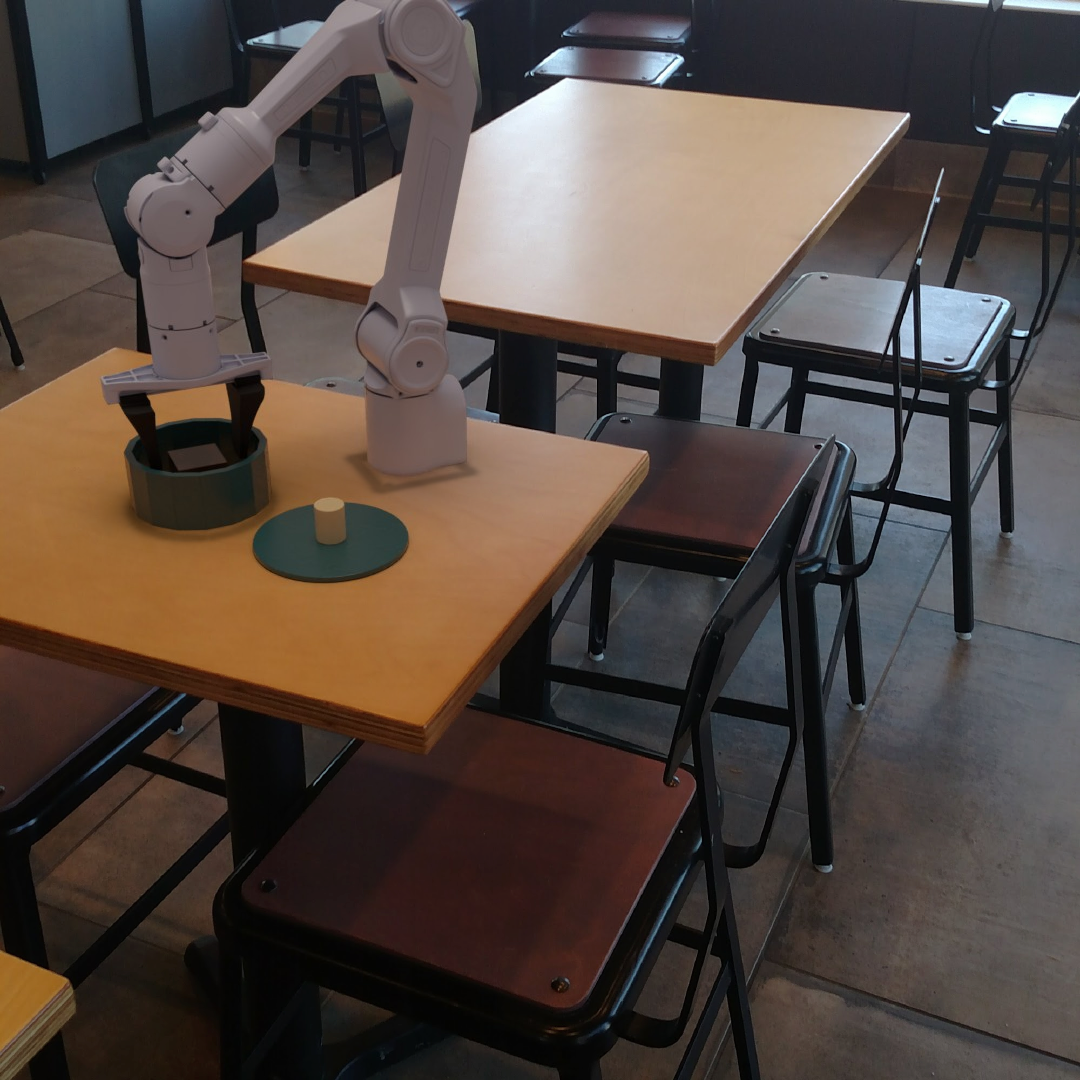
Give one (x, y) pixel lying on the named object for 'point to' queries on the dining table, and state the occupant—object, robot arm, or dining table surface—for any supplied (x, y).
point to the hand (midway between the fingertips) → (199, 462)
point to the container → (199, 478)
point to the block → (196, 459)
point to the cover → (330, 541)
